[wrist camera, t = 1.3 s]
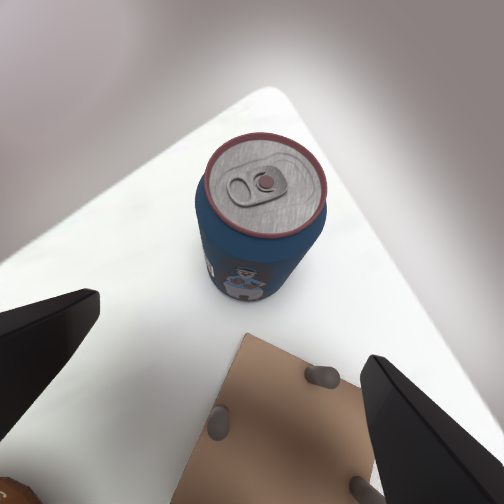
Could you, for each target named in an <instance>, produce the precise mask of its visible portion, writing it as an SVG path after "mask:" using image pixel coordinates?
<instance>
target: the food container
mask: <svg viewBox="0 0 504 504" xmlns="http://www.w3.org/2000/svg"><path fill="white" fill-rule="evenodd" d="M0 504H43V503H42V502H41V501H40V500H39V498H38V497H37V496H36V495H35V493H34V492H33V491H32V490H31V488H30V487H28V486H26V485H24V484H22V483H19V482H17V481H15V480H13V479H11V478H9V477H0Z"/></svg>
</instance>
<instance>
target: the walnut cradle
mask: <svg viewBox="0 0 504 504" xmlns="http://www.w3.org/2000/svg"><path fill="white" fill-rule="evenodd" d="M374 459H375V456H374V452H373V448H372V444H371V440H370V436H369V432H368V427H367V422H366V415H365V409H364V402H363V395H362V389H361V388H358V387H356V386H354V385H352V384H350V383H348V382H346V381H344V380H342V379H340V375H339V373H338V371H337V370H336V369H334V368H332V367H324V366H314V365H312V364H310V363H308V362H306V361H304V360H302V359H300V358H297V357H295V356H293V355H291V354H289V353H287V352H285V351H283V350H281V349H279V348H277V347H275V346H273V345H271V344H269V343H267V342H265V341H263V340H261V339H259V338H257V337H255V336H253V335H251V334H249V333H246V335H245V337H244V339H243V341H242V343H241V346H240V348H239V350H238V352H237V355H236V357H235V359H234V361H233V363H232V366H231V368H230V370H229V372H228V374H227V377H226V379H225V381H224V383H223V386H222V388H221V390H220V392H219V394H218V397H217V399H216V401H215V403H214V406H213V408H212V410H211V412H210V414H209V417H208V419H207V421H206V423H205V426H204V428H203V430H202V432H201V434H200V437H199V439H198V441H197V443H196V445H195V448H194V450H193V452H192V454H191V457H190V459H189V461H188V463H187V465H186V468H185V470H184V472H183V474H182V477H181V479H180V481H179V483H178V485H177V488H176V490H175V492H174V494H173V497H172V499H171V502H170V504H386V500H385V497H384V496H383V495H382V494H380V493H379V492H378V491H377V490H376V489H375V488H374V487H373V486H371V485H370V484H369V482H370V477H371V473H372V468H373V463H374Z"/></svg>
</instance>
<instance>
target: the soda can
mask: <svg viewBox="0 0 504 504" xmlns="http://www.w3.org/2000/svg"><path fill="white" fill-rule="evenodd" d="M326 197H327V182H326V177H325V174H324V171H323V169H322V167H321V165H320V163H319V162H318V160H317V159H316V158H315V157H314V156H313V154H312V153H310V152H309V151H308V150H307V149H306V148H305V147H303V146H302V145H300V144H299V143H297V142H295V141H293V140H291V139H289V138H286V137H283V136H280V135H277V134H272V133H264V132H257V133H249V134H245V135H241V136H238V137H236V138H233V139H231V140H229V141H227V142H226V143H224V144H223V145H222V146H220V147H219V148H218V149H217V150H216V151H215V152H214V154H213V155H212V157H211V158H210V160H209V162H208V164H207V167H206V170H205V173H204V174H203V176H202V178H201V179H200V182H199V184H198V187H197V190H196V195H195V209H196V214H197V219H198V224H199V229H200V234H201V239H202V244H203V249H204V254H205V259H206V264H207V269H208V272H209V275H210V277H211V279H212V281H213V282H214V284H215V285H216V286H217V287H218V288H219V289H220V290H221V291H222V292H223V293H225V294H226V295H228V296H230V297H232V298H235V299H238V300H243V301H255V300H260V299H263V298H266V297H268V296H270V295H272V294H273V293H275V292H276V291H277V290H278V289H279V288H280V287H281V286H282V285H283V283H284V282H285V281H286V279H287V278H288V277H289V275H290V274H291V273H292V271H293V270H294V269H295V267H296V266H297V265H298V263H299V262H300V261H301V260H302V258H303V257H304V256H305V254H306V253H307V252H308V250H309V249H310V248H311V246H312V245H313V244H314V242H315V241H316V240H317V238H318V237H319V235H320V234H321V232H322V230H323V227H324V224H325V220H326V214H327V205H326Z"/></svg>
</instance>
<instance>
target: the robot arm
mask: <svg viewBox="0 0 504 504" xmlns="http://www.w3.org/2000/svg"><path fill="white" fill-rule="evenodd" d="M99 315H100V294H99V292H98V291H96V290H92V289H87V288H84V289H81V290H77V291H74V292H70V293H67V294H63V295H60V296H57V297H53V298H50V299H46V300H43V301H39V302H36V303H32V304H29V305H25V306H22V307H18V308H15V309H12V310H8V311H5V312H1V313H0V442H1V441H2V439H3V438H4V437H5V436H6V435H7V433H8V432H9V431H10V430H11V429H12V428H13V426H14V425H15V424H16V423H17V422H18V420H19V419H20V418H21V417H22V416H23V414H24V413H25V412H26V411H27V410H28V409H29V407H30V406H31V405H32V404H33V403H34V401H35V400H36V399H37V398H38V397H39V396H40V394H41V393H42V392H43V391H44V390H45V388H46V387H47V386H48V385H49V384H50V382H51V381H52V380H53V379H54V378H55V377H56V375H57V374H58V373H59V372H60V371H61V369H62V368H63V367H64V366H65V365H66V363H67V362H68V361H69V360H70V358H71V357H72V356H73V354H74V353H75V351H76V350H77V348H78V347H79V346H80V344H81V343H82V341H83V340H84V338H85V337H86V335H87V334H88V332H89V331H90V330H91V328H92V327H93V325H94V324H95V322H96V321H97V319H98V317H99ZM360 382H361V389H362V395H363V402H364V409H365V415H366V422H367V427H368V432H369V436H370V440H371V444H372V448H373V452H374V456H375V460H376V464H377V468H378V472H379V476H380V480H381V484H382V488H383V492H384V496H385V500H386V504H504V466H503V464H502V463H501V462H500V461H499V460H498V459H497V458H496V457H494V456H493V455H492V454H491V453H490V452H489V451H488V450H487V449H486V448H484V447H483V446H482V445H481V444H480V443H479V442H478V441H477V440H476V439H475V438H473V437H472V436H471V435H470V434H469V433H468V432H467V431H466V430H465V429H463V428H462V427H461V426H460V425H459V424H458V423H457V422H456V421H455V420H453V419H452V418H451V417H450V416H449V415H448V414H447V413H446V412H445V411H444V410H442V409H441V408H440V407H439V406H438V405H437V404H436V403H435V402H434V401H432V400H431V399H430V398H429V397H428V396H427V395H426V394H425V393H424V392H423V391H421V390H420V389H419V388H418V387H417V386H416V385H415V384H414V383H413V382H411V381H410V380H409V379H408V378H407V377H406V376H405V375H404V374H403V373H402V372H400V371H399V370H398V369H397V368H396V367H395V366H394V365H393V364H392V363H390V362H389V361H388V360H387V359H386V358H385V357H382V356H378V355H370V356H369V358H368V360H367V362H366V363H365V365H364V367H363V369H362V371H361V374H360Z"/></svg>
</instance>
